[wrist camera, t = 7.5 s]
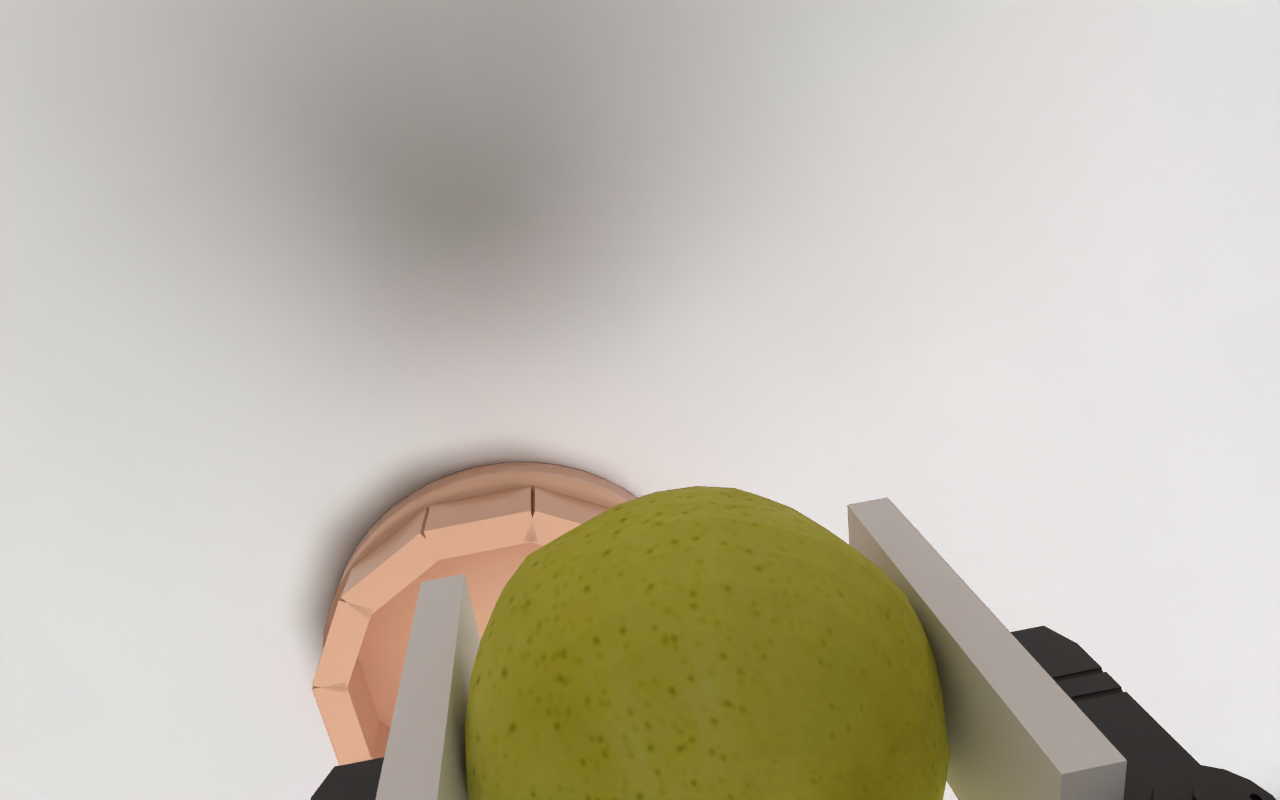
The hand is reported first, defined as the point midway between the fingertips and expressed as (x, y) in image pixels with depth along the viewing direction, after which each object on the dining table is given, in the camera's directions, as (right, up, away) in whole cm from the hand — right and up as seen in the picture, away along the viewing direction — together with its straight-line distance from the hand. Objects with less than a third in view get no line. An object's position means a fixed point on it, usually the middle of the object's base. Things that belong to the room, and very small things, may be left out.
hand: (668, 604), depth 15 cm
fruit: (0, 0, +1) cm, 1 cm away
